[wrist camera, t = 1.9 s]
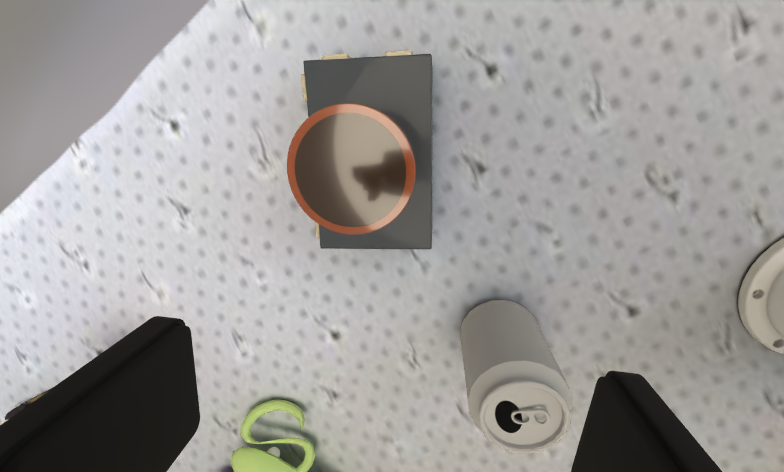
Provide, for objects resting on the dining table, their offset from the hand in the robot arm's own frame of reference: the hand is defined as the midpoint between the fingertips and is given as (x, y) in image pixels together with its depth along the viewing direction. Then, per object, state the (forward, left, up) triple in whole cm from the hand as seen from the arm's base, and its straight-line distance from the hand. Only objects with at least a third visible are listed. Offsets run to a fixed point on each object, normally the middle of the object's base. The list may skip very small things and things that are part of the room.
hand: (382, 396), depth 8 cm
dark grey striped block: (+4, -3, -27) cm, 27 cm away
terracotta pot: (+4, -3, -21) cm, 21 cm away
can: (-7, +14, -27) cm, 31 cm away
